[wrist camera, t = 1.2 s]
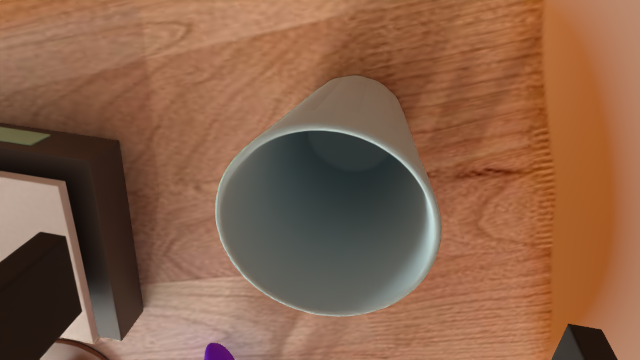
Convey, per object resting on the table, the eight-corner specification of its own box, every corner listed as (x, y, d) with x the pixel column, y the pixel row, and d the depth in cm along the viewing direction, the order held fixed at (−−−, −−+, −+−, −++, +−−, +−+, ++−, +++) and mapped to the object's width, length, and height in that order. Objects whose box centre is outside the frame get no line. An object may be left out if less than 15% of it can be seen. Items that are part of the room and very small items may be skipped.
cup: (458, 131, 23) (491, 247, 14) (351, 211, 27) (323, 347, 17) (359, 20, 22) (325, 72, 12) (259, 120, 25) (174, 219, 16)
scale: (-86, 108, 28) (-162, 133, 25) (119, 138, 27) (71, 170, 23) (-24, 279, 35) (-76, 319, 31) (143, 310, 34) (110, 357, 30)
